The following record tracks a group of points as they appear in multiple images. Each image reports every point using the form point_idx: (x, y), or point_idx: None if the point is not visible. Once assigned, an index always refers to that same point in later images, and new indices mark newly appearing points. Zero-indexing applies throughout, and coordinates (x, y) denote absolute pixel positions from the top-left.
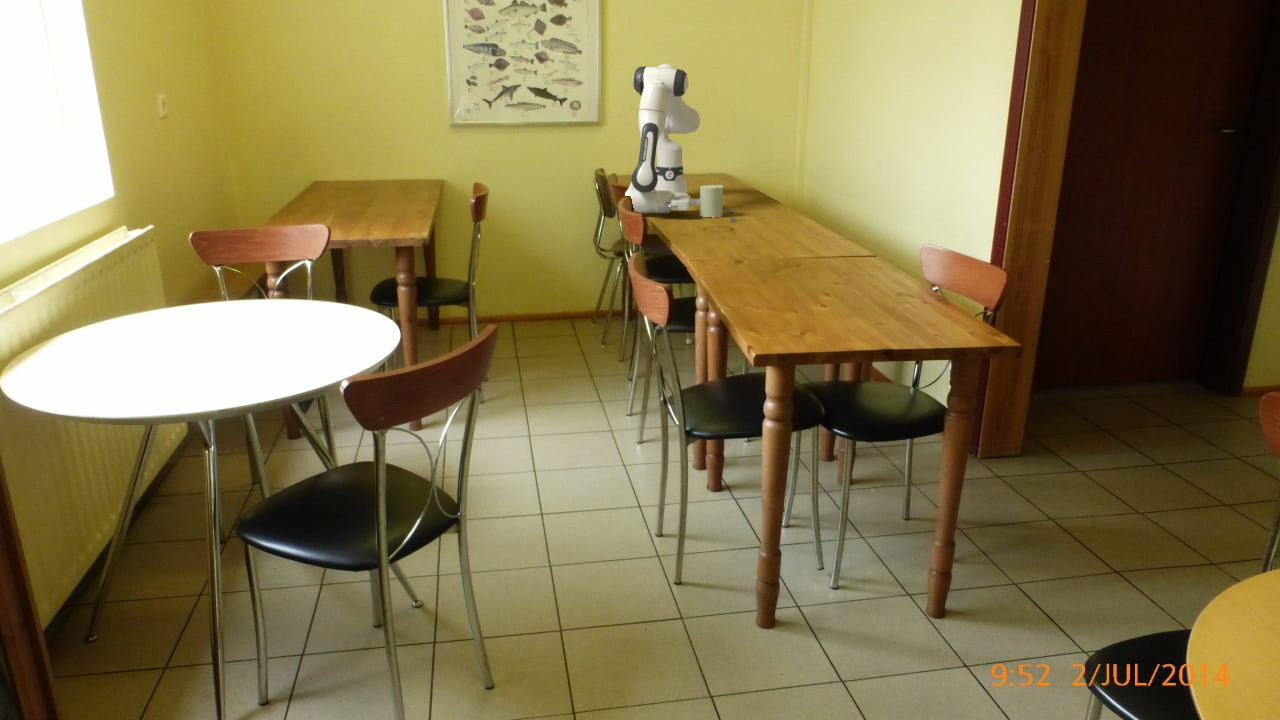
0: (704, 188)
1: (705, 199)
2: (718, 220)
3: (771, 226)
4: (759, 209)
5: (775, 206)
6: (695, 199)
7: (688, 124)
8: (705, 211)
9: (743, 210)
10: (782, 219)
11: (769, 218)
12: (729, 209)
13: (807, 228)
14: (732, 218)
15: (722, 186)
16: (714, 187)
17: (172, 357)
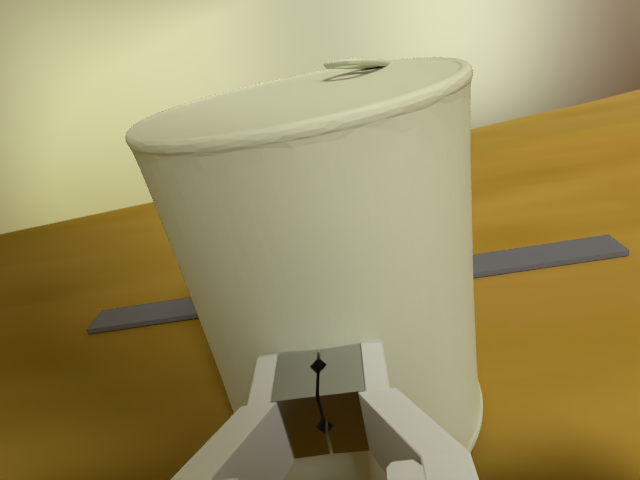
0: (450, 92)
1: (463, 256)
2: (591, 324)
3: (623, 152)
4: (159, 232)
5: (113, 212)
6: (267, 416)
7: None
8: (471, 386)
9: (159, 267)
10: None
11: None
12: (119, 312)
13: (587, 112)
14: (487, 260)
15: (292, 77)
16: (359, 78)
17: None
